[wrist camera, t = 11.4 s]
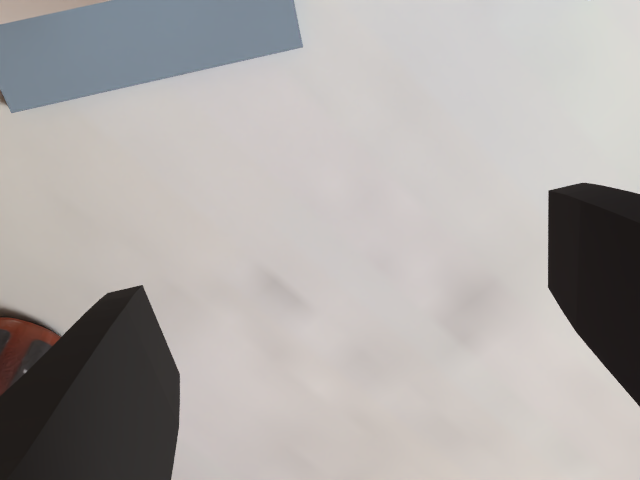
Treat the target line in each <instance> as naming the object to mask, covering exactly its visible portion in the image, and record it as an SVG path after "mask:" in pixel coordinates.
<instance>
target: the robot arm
mask: <svg viewBox="0 0 640 480" xmlns="http://www.w3.org/2000/svg"><path fill="white" fill-rule="evenodd" d="M548 288H549V290H550V291H551V293H552V295H553V296H554V298H555V300H556V301H557V303H558V304H559V306H560V308H561V309H562V311H563V313H564V314H565V316H566V317H567V319H568V320H569V322H570V323H571V325H572V326H573V328H574V329H575V331H576V332H577V333H578V335H579V336H580V337H581V338H582V340H583V341H584V342H585V343H586V344H587V346H588V347H589V348H590V349H591V350H592V351H593V353H594V354H595V355H596V356H597V357H598V359H599V360H600V361H601V362H602V363H603V364H604V366H605V367H606V368H607V369H608V370H609V371H610V373H611V374H612V375H613V376H614V377H615V378H616V380H617V381H618V382H619V383H620V384H621V385H622V386H623V388H624V389H625V390H626V391H627V392H628V393H629V395H630V396H631V397H632V398H633V399H634V400H635V402H636V403H637V404H638V405H639V406H640V194H637V193H633V192H629V191H624V190H620V189H616V188H611V187H606V186H601V185H596V184H589V183H579V184H575V185H571V186H567V187H562V188H558V189H554V190H549V210H548ZM179 407H180V374H179V371H178V369H177V367H176V364H175V362H174V359H173V357H172V355H171V352H170V350H169V347H168V345H167V343H166V340H165V338H164V335H163V333H162V331H161V328H160V326H159V324H158V321H157V319H156V316H155V314H154V312H153V309H152V307H151V304H150V302H149V300H148V297H147V295H146V292H145V290H144V288H143V285H141V286H136V287H132V288H128V289H124V290H119V291H115V292H111V293H107V294H106V295H105V296H104V297H102V298H101V299H100V300H99V301H98V302H97V303H95V304H94V305H93V306H92V307H91V308H90V309H89V310H88V311H87V312H86V313H85V314H84V315H83V316H82V317H81V318H80V319H79V320H78V321H77V322H76V323H75V324H74V325H73V326H72V327H71V328H70V329H69V330H68V331H67V332H66V333H65V334H64V335H63V336H62V337H61V338H60V339H59V340H58V341H57V342H56V343H55V344H54V345H53V346H52V347H51V348H50V349H49V350H48V351H47V352H46V353H45V354H44V355H43V356H42V357H41V358H40V359H39V360H38V361H37V362H36V363H35V364H34V365H33V366H32V367H31V368H30V369H29V370H28V371H27V372H26V373H25V374H24V375H23V376H21V377H20V378H19V379H18V380H17V381H16V382H15V383H14V384H13V385H12V386H11V387H10V388H9V389H7V390H6V391H5V392H4V393H3V394H2V395H1V396H0V480H171V476H172V470H173V463H174V456H175V450H176V443H177V436H178V429H179Z"/></svg>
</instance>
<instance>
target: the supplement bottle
mask: <svg viewBox="0 0 640 480" xmlns="http://www.w3.org/2000/svg"><path fill="white" fill-rule="evenodd" d="M60 338H61V337H60V336H59V335H57V334H56V333H54V332H52V331H50V330H48V329H46V328H44V327H42V326H39V325H36V324H34V323H31V322H27V321H24V320H20V319H15V318H5V317H0V396H1V395H2V394H3V393H4V392H5V391H6V390H7V389H9V388H10V387H11V386H12V385H13V384H14V383H15V382H16V381H17V380H18V379H19V378H20V377H21V376H23V375H24V374H25V373H26V372H27V371H28V370H29V369H30V368H31V367H32V366H33V365H34V364H35V363H36V362H37V361H38V360H39V359H40V358H41V357H42V356H43V355H44V354H45V353H46V352H47V351H48V350H49V349H50V348H51V347H52V346H53V345H54V344H55V343H56V342H57V341H58V340H59V339H60Z"/></svg>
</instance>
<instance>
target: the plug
mask: <svg viewBox="0 0 640 480" xmlns="http://www.w3.org/2000/svg"><path fill="white" fill-rule="evenodd" d="M106 1H111V0H0V24H5V23H9V22H14V21H19V20H23V19H28V18H32V17H37V16H42V15H46V14H51V13H56V12H60V11H65V10H69V9H74V8H79V7H83V6H88V5H93V4H97V3H102V2H106Z"/></svg>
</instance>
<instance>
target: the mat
mask: <svg viewBox="0 0 640 480" xmlns="http://www.w3.org/2000/svg"><path fill="white" fill-rule="evenodd" d="M301 47H303V45H302V40H301V35H300V30H299V25H298V20H297V15H296V10H295V5H294V0H111V1H106V2H102V3H97V4H93V5H88V6H83V7H79V8H74V9H69V10H65V11H60V12H56V13H51V14H46V15H42V16H37V17H32V18H28V19H23V20H19V21H14V22H9V23H5V24H0V90H1V92H2V94H3V96H4V98H5V100H6V103H7V105H8V107H9V109H10V111H11V113H14V112H19V111H23V110H28V109H32V108H36V107H41V106H45V105H50V104H54V103H59V102H63V101H67V100H72V99H76V98H81V97H85V96H89V95H94V94H98V93H103V92H107V91H112V90H116V89H120V88H125V87H129V86H134V85H138V84H142V83H147V82H151V81H156V80H160V79H165V78H169V77H173V76H178V75H182V74H187V73H191V72H195V71H200V70H204V69H209V68H213V67H217V66H222V65H226V64H231V63H235V62H240V61H244V60H248V59H253V58H257V57H262V56H266V55H270V54H275V53H279V52H284V51H288V50H293V49H297V48H301Z"/></svg>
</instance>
